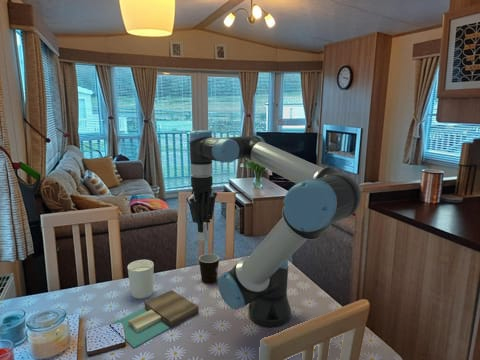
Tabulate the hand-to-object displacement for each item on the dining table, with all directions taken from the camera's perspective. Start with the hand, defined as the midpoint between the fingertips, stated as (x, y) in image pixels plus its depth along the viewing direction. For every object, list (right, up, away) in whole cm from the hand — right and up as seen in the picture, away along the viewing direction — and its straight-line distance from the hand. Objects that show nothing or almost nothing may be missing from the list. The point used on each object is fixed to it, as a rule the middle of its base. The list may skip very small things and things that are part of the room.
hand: (203, 239), depth 121 cm
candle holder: (-26, -23, +12) cm, 37 cm away
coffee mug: (+1, -21, +24) cm, 32 cm away
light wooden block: (-19, -27, -7) cm, 34 cm away
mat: (-21, -28, -8) cm, 35 cm away
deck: (-12, -26, +1) cm, 28 cm away
